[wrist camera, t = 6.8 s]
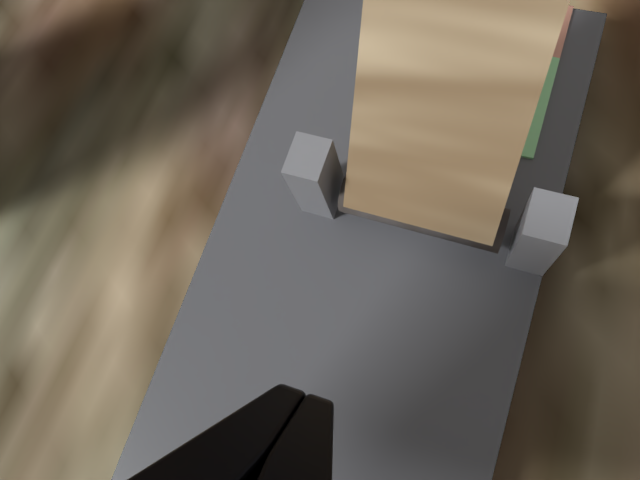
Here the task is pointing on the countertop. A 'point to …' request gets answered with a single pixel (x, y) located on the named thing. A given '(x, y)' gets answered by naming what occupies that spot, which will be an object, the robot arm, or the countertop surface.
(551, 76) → the base
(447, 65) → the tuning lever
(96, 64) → the countertop surface
